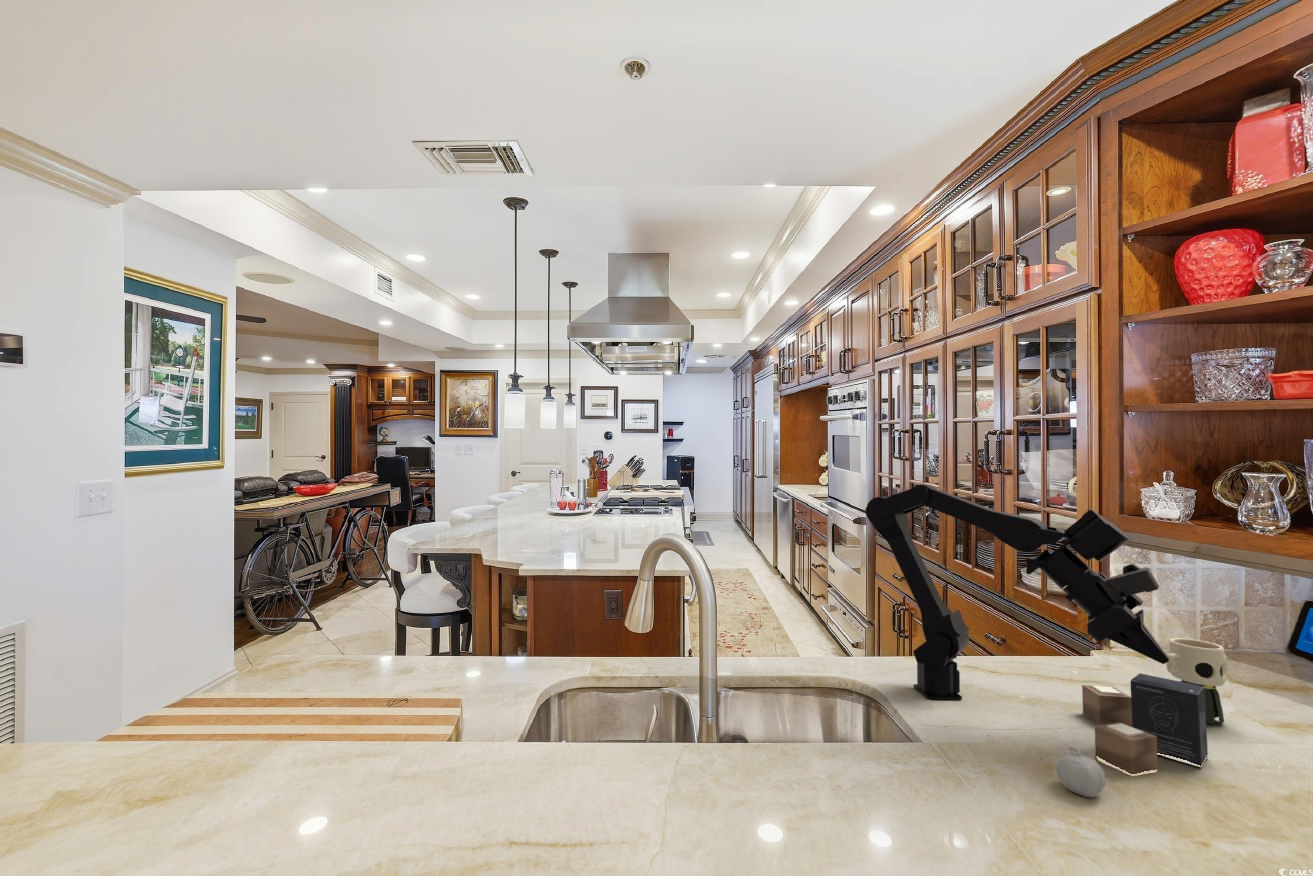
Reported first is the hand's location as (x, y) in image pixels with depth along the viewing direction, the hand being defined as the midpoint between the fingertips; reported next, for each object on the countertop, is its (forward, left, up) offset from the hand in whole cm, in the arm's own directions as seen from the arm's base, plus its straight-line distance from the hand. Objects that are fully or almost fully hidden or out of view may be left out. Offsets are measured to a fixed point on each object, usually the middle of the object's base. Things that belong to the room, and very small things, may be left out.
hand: (1166, 662), depth 89 cm
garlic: (-22, -11, -14) cm, 28 cm away
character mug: (+17, +13, -14) cm, 25 cm away
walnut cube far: (0, +12, -14) cm, 18 cm away
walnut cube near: (-10, -4, -14) cm, 17 cm away
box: (0, 0, -14) cm, 14 cm away
